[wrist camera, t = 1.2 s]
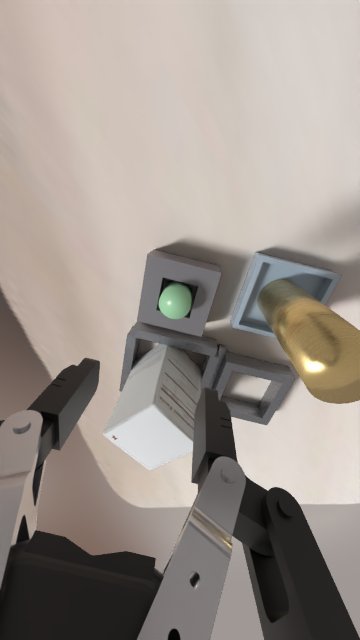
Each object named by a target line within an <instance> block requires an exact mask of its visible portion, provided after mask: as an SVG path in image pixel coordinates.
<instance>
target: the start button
mask: <svg viewBox="0 0 360 640" xmlns="http://www.w3.org/2000/svg"><path fill="white" fill-rule="evenodd" d="M191 301H192V291H191V289H190V287H189V286H188V285H187V284H186V283H183V282H179V281H173V282H171V283H169V284H168V285H167V286H166V287H165V289H164V291H163V293H162V294H161V296H160V299H159V308H160V310H161V312H162V313H163V314H164V315H165V316H166V317H168V318H171V319H180V318H183V317H184V316H186V315H187V314H188V312H189V311H190V308H191Z"/></svg>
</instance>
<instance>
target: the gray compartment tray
mask: <svg viewBox="0 0 360 640" xmlns="http://www.w3.org/2000/svg"><path fill="white" fill-rule="evenodd" d="M139 338H140V339H144V340H148V341H152V342H156V343H160V344H164V345H168V346H172V347H176V348H180V349H185V350H189V351H193V352H197V353H201V354H205V355H206V358H205V361H204V364H203V367H202V370H201V393H202V390H203V388H204V387H206V388H210V389H215V390H217V391H218V398H219V401H222V402H225V403H226V405H227V406H228V408H229V410H230V414H231V417H235V418H239V419H243V420H247V421H251V422H255V423H260V424H264V425H267V424H268V423H269V421H270V419H271V418H272V416H273V415H274V413H275V411H276V410H277V408H278V406H279V405H280V403H281V401H282V400H283V398H284V396H285V395H286V393H287V391H288V390H289V388H290V386H291V385H292V383H293V382H294V380H295V377H294V376H293V374H292V372H291V370H290V369H289V367H287V366H283V365H279V364H275V363H271V362H267V361H262V360H258V359H254V358H250V357H246V356H242V355H238V354H234V353H230V352H226V351H227V346H225V345H221V344H220V345H219V347H218V348H217V341H216V339H212V338H208V337H204V336H202V337H200V336H196V335H192V334H188V333H184V332H180V331H176V330H172V329H168V328H164V327H160V326H155V325H151V324H147V323H143V322H139V321H137V323H136V324H135V326H134V327H132V328H131V330H130V332H129V333H128V335H127V340H126V347H125V354H124V362H123V369H122V376H121V384H120V391H121V392H122V390H123V388H124V386H125V383H126V381H127V379H128V377H129V374H130V372H131V370H132V368H133V366H134V363H135V361H136V355H137V349H138V343H139ZM232 371H235V372H239V373H243V374H247V375H251V376H255V377H259V378H263V379H267V380H271V383H270V385H269V387H268V389H267V390H266V392H265V394H264V396H263V398H262V400H261V401H260V403H259V405H256V404H252V403H248V402H244V401H240V400H236V399H232V398H228V397H224V396H222V394H223V392H224V389H225V387H226V385H227V382H228V380H229V378H230V375H231V373H232Z"/></svg>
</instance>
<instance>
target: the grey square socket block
mask: <svg viewBox="0 0 360 640" xmlns="http://www.w3.org/2000/svg"><path fill="white" fill-rule="evenodd" d="M221 274H222V272H221V269H220V266H218V265H214V264H210V263H206V262H202V261H198V260H194V259H190V258H186V257H182V256H178V255H174V254H170V253H166V252H162V251H158V250H153V251H151V252H150V253H149V254H147V261H146V267H145V273H144V280H143V286H142V293H141V299H140V306H139V312H138V318H137V321H139V322H143V323H147V324H151V325H155V326H160V327H164V328H168V329H172V330H176V331H180V332H184V333H188V334H192V335H196V336H200V337H202V334H203V331H204V328H205V325H206V321H207V318H208V315H209V312H210V309H211V306H212V302H213V299H214V296H215V293H216V290H217V287H218V284H219V280H220V277H221ZM173 281H179V282H183V283H186V284H187V285H188V286H189V287H190V289H191V291H192V301H191V308H190V311H189V312H188V314H187V315H186V316H184V317H183V318H180V319H171V318H168V317H166V316H165V315H164V314H163V313H162V312H161V310H160V308H159V299H160V296H161V294H162V293H163V291H164V289H165V287H166V286H167V285H168V284H169V283H171V282H173Z"/></svg>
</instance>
